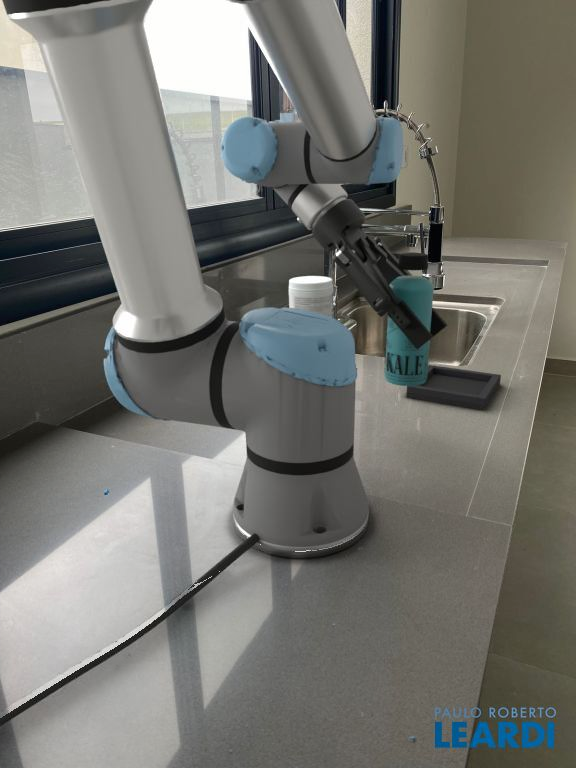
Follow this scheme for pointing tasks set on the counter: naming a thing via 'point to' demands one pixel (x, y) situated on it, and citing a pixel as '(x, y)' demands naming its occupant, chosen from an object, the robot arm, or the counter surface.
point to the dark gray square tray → (456, 387)
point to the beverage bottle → (400, 353)
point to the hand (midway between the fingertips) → (432, 336)
